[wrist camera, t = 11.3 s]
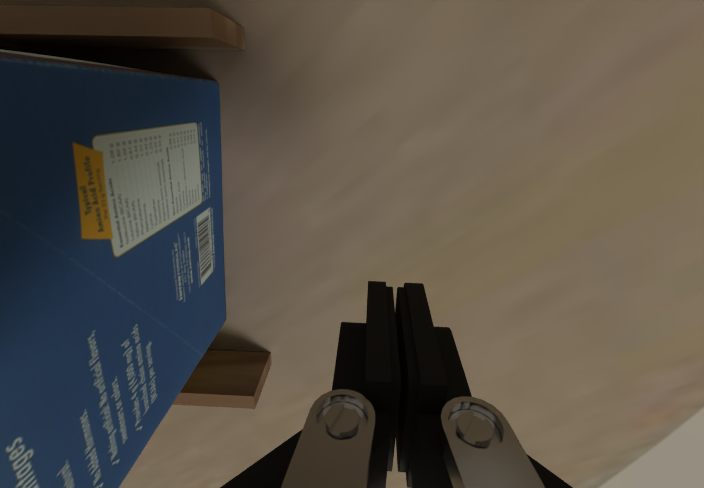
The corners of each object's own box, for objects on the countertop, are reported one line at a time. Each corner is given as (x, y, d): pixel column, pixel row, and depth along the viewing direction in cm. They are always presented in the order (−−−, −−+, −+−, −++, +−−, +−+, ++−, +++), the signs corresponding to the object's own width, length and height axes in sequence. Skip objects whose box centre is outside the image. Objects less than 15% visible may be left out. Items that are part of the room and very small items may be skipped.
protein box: (79, 304, 24) (-338, 601, 10) (24, 53, 18) (-1212, -109, 4) (230, 322, 24) (31, 644, 10) (223, 77, 18) (-295, 0, 4)
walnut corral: (-30, 22, 18) (-134, 2, 14) (243, 27, 17) (209, 7, 14) (82, 354, 26) (35, 397, 22) (271, 363, 25) (255, 408, 22)
